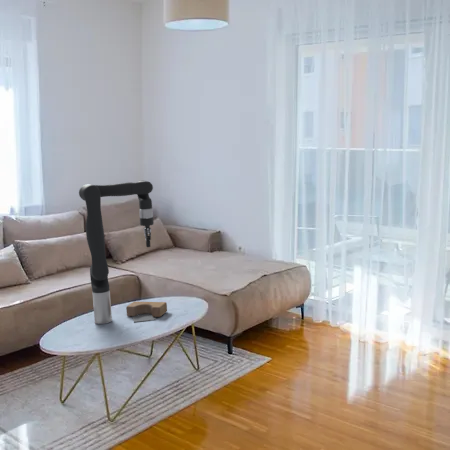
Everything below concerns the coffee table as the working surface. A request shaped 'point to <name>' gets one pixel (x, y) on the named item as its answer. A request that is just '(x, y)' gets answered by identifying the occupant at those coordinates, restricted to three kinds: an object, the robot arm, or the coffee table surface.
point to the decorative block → (147, 308)
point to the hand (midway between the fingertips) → (148, 246)
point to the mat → (143, 318)
